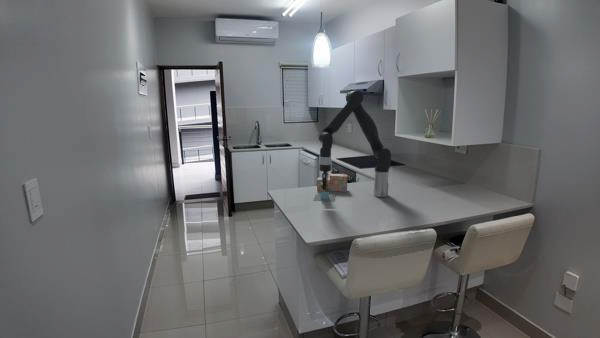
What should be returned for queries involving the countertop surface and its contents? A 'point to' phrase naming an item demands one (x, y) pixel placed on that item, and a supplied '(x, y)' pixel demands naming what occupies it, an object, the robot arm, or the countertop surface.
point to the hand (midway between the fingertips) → (325, 187)
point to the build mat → (331, 199)
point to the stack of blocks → (334, 182)
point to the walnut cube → (326, 187)
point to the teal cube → (324, 195)
